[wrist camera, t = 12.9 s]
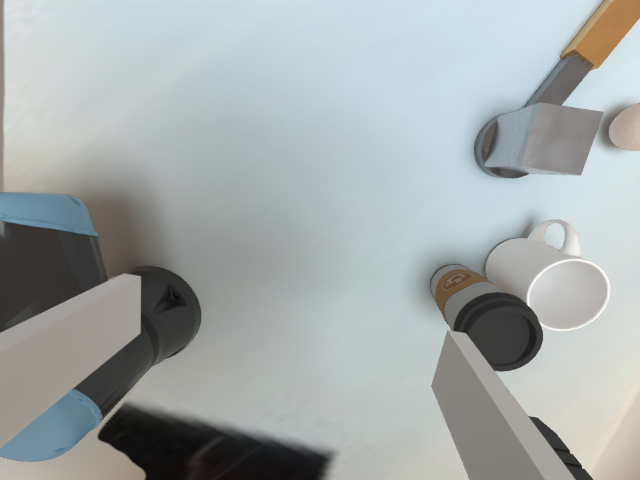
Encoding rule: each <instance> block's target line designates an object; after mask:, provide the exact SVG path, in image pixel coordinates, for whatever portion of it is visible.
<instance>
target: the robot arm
mask: <svg viewBox="0 0 640 480" xmlns="http://www.w3.org/2000/svg"><path fill="white" fill-rule="evenodd" d="M97 237H99V236H98V233H97V232H95V229H94V226H93V224H92V221H91V218H90V215H89V212H88V209H87V207H86V205H85V204H84V203H83V202H82V201H81V200H80V199H78V198H76V197H74V196H71V195H66V194H52V193H22V192H0V457H3V458H7V459H11V460H16V461H25V462H37V461H45V460H49V459H52V458H55V457H58V456H60V455H62V454H63V453H65V452H67V451H68V450H70V449H71V448H72V447H73V446H75V444H77V443H78V442H79V441H80V440H81V439H82V438H83V437H84V436H85V435H86V434H87V433H88V432H89V431H90V430H92V429H94V428H95V427H97V426H98V425H99V423H100V422H101V421H102V420H103V418H104V417H105V416H106V415H107V414H108V413H109V412H110V411H111V410H112V409H113V408H114V407H115V405H116V404H117V403H118V402H119V401H120V400H121V399H122V398H123V397H124V396H125V395H126V394H127V392H128V391H129V390H130V389H131V388H132V387H133V386H134V385H135V384H136V383H137V382H138V381H139V380H140V379H141V377H142V376H143V375H144V374H145V373H146V372H147V371H148V370H149V369H150V368H151V367H152V366H154V365H156V364H158V363H160V362H161V361H163V360H164V359H166V358H169V357H172V356H174V355H176V354H178V353H179V352H180V351H182V350H183V349H184V348H185V347H186V346H187V345H188V344H189V343H190V342H191V340H192V339H193V338H194V337H195V335H196V334H197V332H198V329H199V326H200V321H201V312H200V306H199V303H198V300H197V298H196V296H195V294H194V292H193V291H192V289H191V288H190V287H189V286H188V285H187V284H186V282H184V281H183V280H182V279H181V278H180V277H178V276H177V275H175V274H173V273H172V272H169V271H167V270H164V269H161V268H157V267H141V268H136V269H133V270H131V271H129V272H127V273H123V274H121V275H119V276H117V277H115V278H113V279H111V280H109V281H108V278H107V274H106V271H105V267H104V263H103V259H102V255H101V251H100V247H99V243H98V238H97ZM431 387H432V389H433V391H434V394H435V396H436V399H437V401H438V404H439V406H440V409H441V411H442V413H443V416H444V418H445V421H446V423H447V426H448V428H449V430H450V433H451V435H452V438H453V440H454V443H455V445H456V448H457V450H458V452H459V455H460V457H461V460H462V462H463V465H464V467H465V470H466V472H467V474H468V477H469V479H470V480H593V479H592V478H591V476H590V475H589V474H588V473H587V471H586V470H585V469H582V465H581V464H580V463H579V461H578V460H577V459H576V458H575V457H574V455H573V454H570V450H569V449H568V448H567V447H566V445H565V444H564V443H563V442H562V440H561V439H560V438H559V437H558V435H557V434H556V433H555V432H554V431H552V430H551V429H550V428H549V427H548V426H547V425H545V424H544V423H543V422H542V421H541V420H540V419H538V418H536V417H530V416H528V415H527V414H526V413H525V411H524V410H523V409H522V407H521V406H520V405H519V403H518V402H517V401H516V399H515V398H514V397H513V395H512V394H511V393H510V391H509V390H508V389H507V387H506V386H505V385H504V383H503V382H502V381H501V379H500V378H499V377H498V375H497V374H496V373H495V371H494V370H493V369H492V367H491V366H490V365H489V363H488V362H487V361H486V359H485V358H484V357H483V355H482V354H481V353H480V351H479V350H478V349H477V347H476V346H475V345H474V343H473V342H472V341H471V339H470V338H469V337H468V335H467V334H466V333H461V332H456V331H450V330H447V333H446V337H445V340H444V344H443V347H442V351H441V354H440V358H439V361H438V365H437V368H436V372H435V375H434V379H433V382H432V385H431Z"/></svg>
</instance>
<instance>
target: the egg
mask: <svg viewBox="0 0 640 480" xmlns="http://www.w3.org/2000/svg"><path fill="white" fill-rule="evenodd" d="M609 137H610V139H611V141H612V142H613V143H614V144H615V145H616V146H618V147H620V148H622V149H625V150H630V151H640V103H639V104H635V105H633V106H631V107H629V108H627V109H625V110H624V111H622V112H621V113H620V114H619V115H618V116H617V117H616V118H615V119H614V120H613V121H612V123H611V125H610V128H609Z"/></svg>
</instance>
